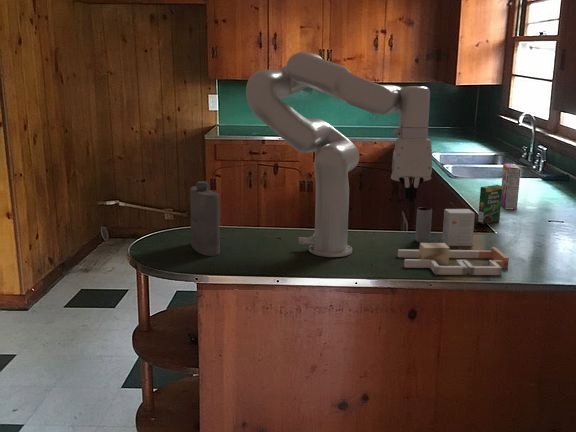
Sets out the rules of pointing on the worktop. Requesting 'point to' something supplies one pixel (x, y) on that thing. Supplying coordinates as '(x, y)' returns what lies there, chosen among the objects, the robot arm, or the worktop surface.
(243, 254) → the worktop surface
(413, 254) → the channel
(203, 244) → the flask
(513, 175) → the candy bar box
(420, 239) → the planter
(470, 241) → the small box
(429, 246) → the beech block
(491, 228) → the worktop surface
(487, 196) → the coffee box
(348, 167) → the robot arm
